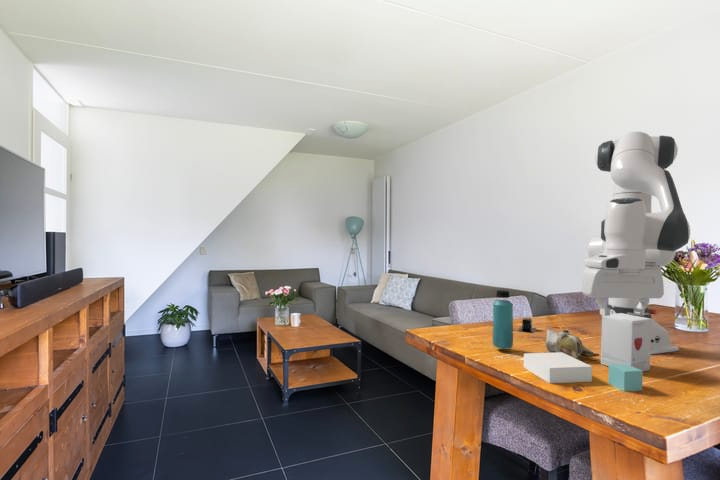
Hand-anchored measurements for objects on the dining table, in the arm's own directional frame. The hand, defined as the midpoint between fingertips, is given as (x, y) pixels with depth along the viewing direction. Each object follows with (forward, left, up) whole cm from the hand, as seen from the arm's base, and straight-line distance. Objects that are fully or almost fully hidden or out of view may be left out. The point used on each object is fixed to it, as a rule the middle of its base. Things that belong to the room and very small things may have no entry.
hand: (621, 315), depth 96 cm
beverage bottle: (+15, -31, -18) cm, 39 cm away
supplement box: (-13, -12, -18) cm, 26 cm away
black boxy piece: (-9, -57, -19) cm, 61 cm away
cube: (-1, +1, -18) cm, 18 cm away
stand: (+11, -9, -18) cm, 23 cm away
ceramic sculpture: (-2, -23, -19) cm, 30 cm away
